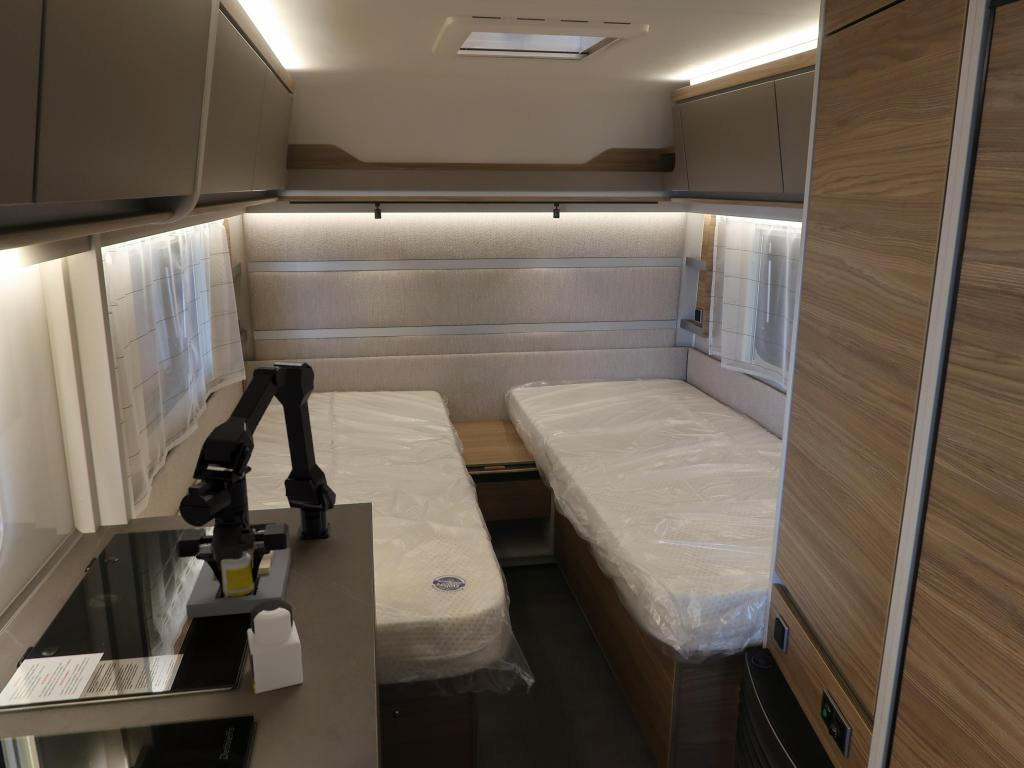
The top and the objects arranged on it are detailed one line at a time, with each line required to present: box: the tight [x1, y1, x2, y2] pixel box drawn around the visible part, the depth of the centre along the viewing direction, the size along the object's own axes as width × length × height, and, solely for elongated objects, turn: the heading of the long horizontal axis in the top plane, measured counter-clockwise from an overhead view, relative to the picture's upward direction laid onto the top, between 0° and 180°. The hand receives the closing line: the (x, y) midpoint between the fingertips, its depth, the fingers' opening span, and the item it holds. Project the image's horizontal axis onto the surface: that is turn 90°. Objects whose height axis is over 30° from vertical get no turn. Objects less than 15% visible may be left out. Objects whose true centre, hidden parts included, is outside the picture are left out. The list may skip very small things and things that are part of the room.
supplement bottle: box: [221, 551, 255, 598], centre depth 141 cm, size 5×5×10 cm
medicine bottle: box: [246, 600, 304, 694], centre depth 119 cm, size 7×7×12 cm
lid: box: [214, 528, 275, 578], centre depth 150 cm, size 10×10×6 cm
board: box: [185, 547, 292, 619], centre depth 147 cm, size 20×16×2 cm
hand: (238, 582), depth 142 cm, fingers closed on supplement bottle, 5 cm apart
